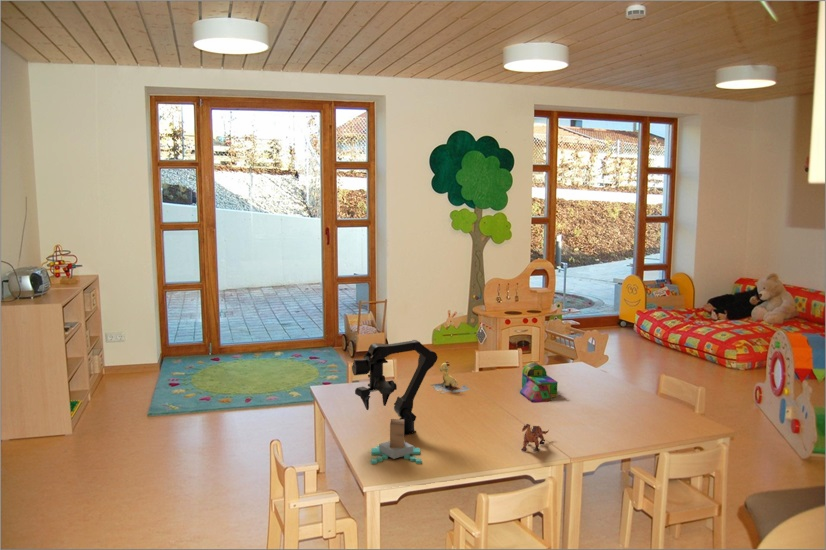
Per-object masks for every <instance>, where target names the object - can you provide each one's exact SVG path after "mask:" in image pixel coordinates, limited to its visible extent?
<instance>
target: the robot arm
mask: <svg viewBox="0 0 826 550" xmlns="http://www.w3.org/2000/svg"><path fill="white" fill-rule="evenodd" d="M413 351H415V352H416V353H417V354H418V360H417V367H416V369H415V371H414V373H413V375H412V378H411V379H410V381H409V383H408V386H407V388H406V390H405V392H404V394H403V395H401V397H400V396H397V397H396V400H395V402H394V403H393V405H394V406H393V410H394V412H395V413H396V414H397V415H398V417H399V419H404V436H408V435H410V434H414V433H417V430H415V421H416V420H417V416H416V415H415V414H414V413H413V412H412V411H413V408H414V399H415V398H416V396H417V393H418V391H419V389H420V387H421V385H422V383H423V381H424V379H425V376H426V375H427V373H428V371H429V370H430V369H432V367H433V366H435V364H436V362H437V361H438V354H437V353H436V352H435V351H434V350H432V349H430V348H427V347H426V346H425V345H423V343H421V342H420V340H419V341H418V340H417V339H412V340H409V341H402V342H401V341H400V342H396V343H375V342H374V343H372V344H370V346H368V350H367V352H366V353H365V354H364V356H363V357H362V358H359V359H358V358H355V359H353V362H352V366H351V371H352V374H353V376H362V375H363V376H365V375H367V377H368V378H369V383H368V384H367V387H365V386H359V387H356V388H355V390H354V394H355V395H357V396H358V397H360V399H361V400H362V402H363V405H364V408H365V409H366V410H367V411H369V408H370V398H371V396H370V395H371V393H373V392H377V391H378V392H379V393H380V394H381V396H382V404H383V406H385V407H386V405H387V403H388V400H389V399H390V396H391V394H393V393H394V392H395V391H397V389H398V385H397V383H396V382H395V381H394V380H393V379H391V380H386V377H385V374H384V364H387V363H389V361H388V360H386V358H387V357H388V356H390V355H394V354H395V355H396V354H399V353H405V352H413Z"/></svg>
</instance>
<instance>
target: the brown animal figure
mask: <svg viewBox="0 0 826 550" xmlns="http://www.w3.org/2000/svg"><path fill="white" fill-rule="evenodd" d="M549 431H550V429H548V430H547V431H546V430H543V429H542V428H541V426H539V425H532V427H531V424H528V423H525V424H524V425H523V427H522V429H521V432H524V436H523V443H522V448H521V449H520V450H519V451H520V452H524V453H525V452H527V451H528V448H527V446H528V445H529V444H530V443H531V444H533V443H534V446H535V447H534V449H532V451H533V452H539V451H540V448H539V445H545V442H546V439H545V438H544V435H547V433H549Z"/></svg>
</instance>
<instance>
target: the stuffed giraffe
mask: <svg viewBox="0 0 826 550" xmlns="http://www.w3.org/2000/svg"><path fill="white" fill-rule="evenodd" d="M449 367H450V361H449V360H445V362H443V363H442V364H441V365H440V367H439V371H440V372H441V373H442V372H443V371H444V372H443V375H442V380H443V381H442V383H440V382H439V383H433V384H430V386H432V388H433V389H434V390H435V391H437V392H439V391H440V393H439V394H445V393H446V392H450V393H462V392H466V391H470V388H468V387H467V386H466V385H465V384H462V386H460V387H459V388H457V389H455V388H456V387H457V386H458V385H459V383H458V381H457V379H456V378H455V377H453V376H452V375H450V374H449V370H450V368H449ZM441 391H442V392H441Z"/></svg>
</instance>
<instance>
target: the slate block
mask: <svg viewBox="0 0 826 550" xmlns="http://www.w3.org/2000/svg"><path fill="white" fill-rule="evenodd" d="M378 446H379V451H380V452H382V453H384V454H386V455H387V456H389V457H388V458H391V459H393V460H394V459H398V458H403V457H402V456H405V455H408V454H411V453H413V446H414V445H412V444H410V443H409V442H406V441H404V447H403V448H391V447H390V440H388V441H385V442H381V443H379V445H378Z"/></svg>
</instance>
